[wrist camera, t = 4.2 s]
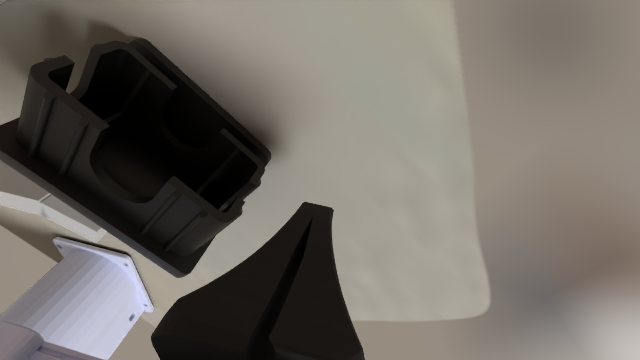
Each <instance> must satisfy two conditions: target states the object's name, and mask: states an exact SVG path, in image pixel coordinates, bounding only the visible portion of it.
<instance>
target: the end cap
mask: <svg viewBox="0 0 640 360" xmlns="http://www.w3.org/2000/svg"><path fill="white" fill-rule="evenodd" d="M74 64H75V63H74V62H73V61H71V60H70V59H69V58H68V57H66V56H65V55H64V56H61V57H57V58H46V59H44V62H40V63H37V64H35V65H33V66H32V67H31V69H30V73H29V78H28V82H27V87H26V91H25V96H24V101H23V105H22V110H21V115H20V117H19V118H17V119H14V120H12V121H10V122H7V123H5V124H2V125H0V160H1V161H2V162H4V163H5V164H7V165H8V166H10V167H11V168H13V169H14V170H16V171H17V172H19V173H20V174H22V175H23V176H25V177H26V178H28V179H29V180H31V181H32V182H34V183H35V184H37V185H38V186H40V187H41V188H43V189H44V190H46V191H47V192H49V193H50V194H52V195H53V196H55V197H56V198H58V199H59V200H61V201H62V202H64V203H65V204H67V205H68V206H70V207H71V208H73V209H74V210H76V211H77V212H79V213H80V214H82V215H83V216H85V217H86V218H88V219H89V220H91V221H92V222H94V223H95V224H97V225H98V226H100V227H101V228H103V229H104V230H106V231H107V232H109V233H110V234H112V235H113V236H115V237H116V238H118V239H119V240H121V241H122V242H124V243H125V244H127V245H128V246H130V247H131V248H133V249H134V250H136V251H137V252H139V253H140V254H142V255H143V256H145V257H146V258H148V259H149V260H151V261H152V262H154V263H155V264H157V265H158V266H160V267H161V268H163V269H164V270H166V271H167V272H169V273H170V274H172V275H173V276H175V277H177V278H181V277H184V276H186V275H188V274H189V273H191V271H192V270H193V269H194V267H195V266H196V264H197V263H198V261H199V260H200V258H201V257H202V255H203V254H204V252H205V251H206V249H207V248H208V246H209V245H210V243H211V242H212V240H213V239H214V237H215V236H216V235H217V234H218V233H219V232H221V231H222V230H223V229H224V228H226V227H227V226H228V225H229V224H231V223H232V222H233V221H234V220H236V219H237V218H238V217H239V216H241V215H242V206H243V205H244V203H245V202H244V201H243V199H245V198H246V197H247V196H248V195H249V194H251V193H252V192H253V191H254V190H255V189H256V188H258V187H259V186H260V184H261V180H260V178H261V177H262V175H263V174H264V171H265V166H266V165H267V164H268V162H269V161H270V159H271V153H270V151H269V150H268V149H267V148H266V147H265V146H264V145H263V144H262V143H261V142H260V141H258V140H257V139H256V138H255V137H254V136H253V135H252V134H251V133H250V132H249V131H247V130H246V129H245V128H244V127H243V126H242V125H241V124H240V123H239V122H237V121H236V120H235V119H234V118H233V117H232V116H231V115H230V114H229V113H227V112H226V111H225V110H224V109H223V108H222V107H221V106H220V105H219V104H218V103H216V102H215V101H214V100H213V99H212V98H211V97H210V96H209V95H208V94H206V93H205V92H204V91H203V90H202V89H201V88H200V87H199V86H198V85H197V84H195V83H194V82H193V81H192V80H191V79H190V78H189V77H188V76H187V75H185V74H184V73H183V72H182V71H181V70H180V69H179V68H178V67H177V66H175V65H174V64H173V63H172V62H171V61H170V60H169V59H168V58H167V57H166V56H164V55H163V54H162V53H161V52H160V51H159V50H158V49H157V48H156V47H154V46H153V45H152V44H151V43H150V42H148V41H147V40H145V39H137V40H134V41H131V42H130V43H129V44H126V43H123V42H120V41H112V42H108V43H105V44H95V45H94V47H92V48H91V51H90V54H89V57H88V60H87V62H86V65H85V68H84V71H83V74H82V76H81V79H80V82H79V84H78V86H77V88H76V89H75V90H74V91H73V92H72V93H70V94H68V93H67V92H66V88H67V85H68V82H69V79H70V76H71V73H72V70H73V67H74Z"/></svg>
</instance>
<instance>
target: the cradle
mask: <svg viewBox="0 0 640 360" xmlns="http://www.w3.org/2000/svg"><path fill="white" fill-rule="evenodd" d="M5 1H6V0H0V4H2V3H3V2H5ZM0 205H2V206H5V207H9V208H13V209H17V210H21V211H25V212H29V213H33V214H37V215H41V216H44V217H46V218H48V219H49V220H51V221H53V222H55V223H57V224H59V225H61V226H63V227H65V228H67V229H69V230H71V231H73V232H75V233H77V234H79V235H81V236H83V237H84V238H86V239H88V240H90V241H92V242H94V243H96V242H97V241H98V240H100V239H101V238H102V237H103V236H104V235H105V234H106V233H107V231H106V230H104V229H103V228H101V227H100V226H98V225H97V224H95V223H94V222H92V221H91V220H89V219H88V218H86V217H85V216H83V215H82V214H80V213H79V212H77V211H76V210H74V209H73V208H71V207H70V206H68V205H67V204H65V203H64V202H62V201H61V200H59V199H58V198H56V197H55V196H53V195H52V194H50V193H49V192H47V191H46V190H44V189H43V188H41V187H40V186H38V185H37V184H35V183H34V182H32V181H31V180H29V179H28V178H26V177H25V176H23V175H22V174H20V173H19V172H17V171H16V170H14V169H13V168H11V167H10V166H8V165H7V164H5V163H4V162H2V161H1V160H0Z"/></svg>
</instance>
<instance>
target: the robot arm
mask: <svg viewBox="0 0 640 360" xmlns="http://www.w3.org/2000/svg"><path fill="white" fill-rule="evenodd" d="M333 211H334V210H333V209H332V208H330V207H326V206H322V205H317V204H313V203H308V202H304V203H302V205H301V206H300V207H299V209H298V210H297V211H296V213H295V214H294V215H293V216H292V217H291V218H290V219H289V221H288V222H287V223H286V224H285V225H284V226H283V227H282V228H281V229H280V230H279V231H278V232H277V233H276V234H275V235H274V236H273V237H272V238H271V239H270V240H269V241H268V242H266V243H265V244H264V245H263V246H262V247H261V248H260V249H258V250H257V251H256V252H255V253H254V254H252V255H251V256H250V257H248V258H247V259H246V260H244V261H243V262H242V263H240V264H239V265H237V266H236V267H234V268H233V269H231V270H230V271H228V272H227V273H225V274H224V275H222V276H220V277H219V278H217V279H215V280H214V281H212V282H210V283H209V284H207V285H205V286H203V287H201V288H199V289H197V290H195V291H193V292H191V293H189V294H187V295H185V296H183V297H181V298H179V299H178V300H177V301H176V302H175V303H174V305H173V306H172V307H171V308H170V309H169V310H168V312H167V313H166V314H165V316H164V317H163V319H162V320H161V322H160V323H159V325H158V326H157V328H156V329H155V331H154V332H153V334H152V336H151V341H152V344H153V347H154V348H155V350H156V352H157V354H158V356H159V358H160V360H365V358H364V353H363V348H362V346H361V343H360V341H359V339H358V337H357V334H356V332H355V329H354V327H353V324H352V321H351V319H350V316H349V313H348V310H347V307H346V304H345V301H344V298H343V295H342V291H341V287H340V284H339V279H338V275H337V270H336V265H335V259H334V253H333V244H332V217H333ZM53 243H54V244H55V246H56V247H57V249H58V250H59V252H60V253H61V255H62V256H63V259H62V260H61V261H60V262H59V263H58V264H57V265H56V266H54V267H53V268H52V269H51V270H50V271H49V272H48V273H47V274H45V275H44V276H43V277H42V278H41V279H40V280H39V281H37V282H36V283H35V284H34V285H33V286H32V287H31V288H30V289H28V290H27V291H26V292H25V293H24V294H23V295H22V296H21V297H19V298H18V299H17V300H16V301H15V302H14V303H13V304H12V305H10V306H9V307H8V308H7V309H6V310H5V311H4V312H3V313H1V314H0V360H108V359H109V358H110V356H111V355H112V353H113V352H114V351H115V349H116V348H117V347H118V345H119V344H120V343H121V341H122V340H123V338H124V337H125V336H126V334H127V333H128V332H129V330H130V329H131V328H132V326H133V325H134V323H135V322H136V321H137V320H138V318H139V317H140V315H141V314H142V313H143V311H146V312H152V311H153V310H154V307H153V305H152V303H151V301H150V299H149V296H148V294H147V292H146V290H145V288H144V285H143V283H142V281H141V279H140V277H139V274H138V272H137V270H136V268H135V266H134V263H133V261H132V259H131V258H130V257H129V256H128V255H125V254H121V253H118V252H114V251H110V250H106V249H102V248H99V247H95V246H91V245H87V244H83V243H80V242H76V241H72V240H68V239H64V238H61V237H56V238H54V239H53Z"/></svg>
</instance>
